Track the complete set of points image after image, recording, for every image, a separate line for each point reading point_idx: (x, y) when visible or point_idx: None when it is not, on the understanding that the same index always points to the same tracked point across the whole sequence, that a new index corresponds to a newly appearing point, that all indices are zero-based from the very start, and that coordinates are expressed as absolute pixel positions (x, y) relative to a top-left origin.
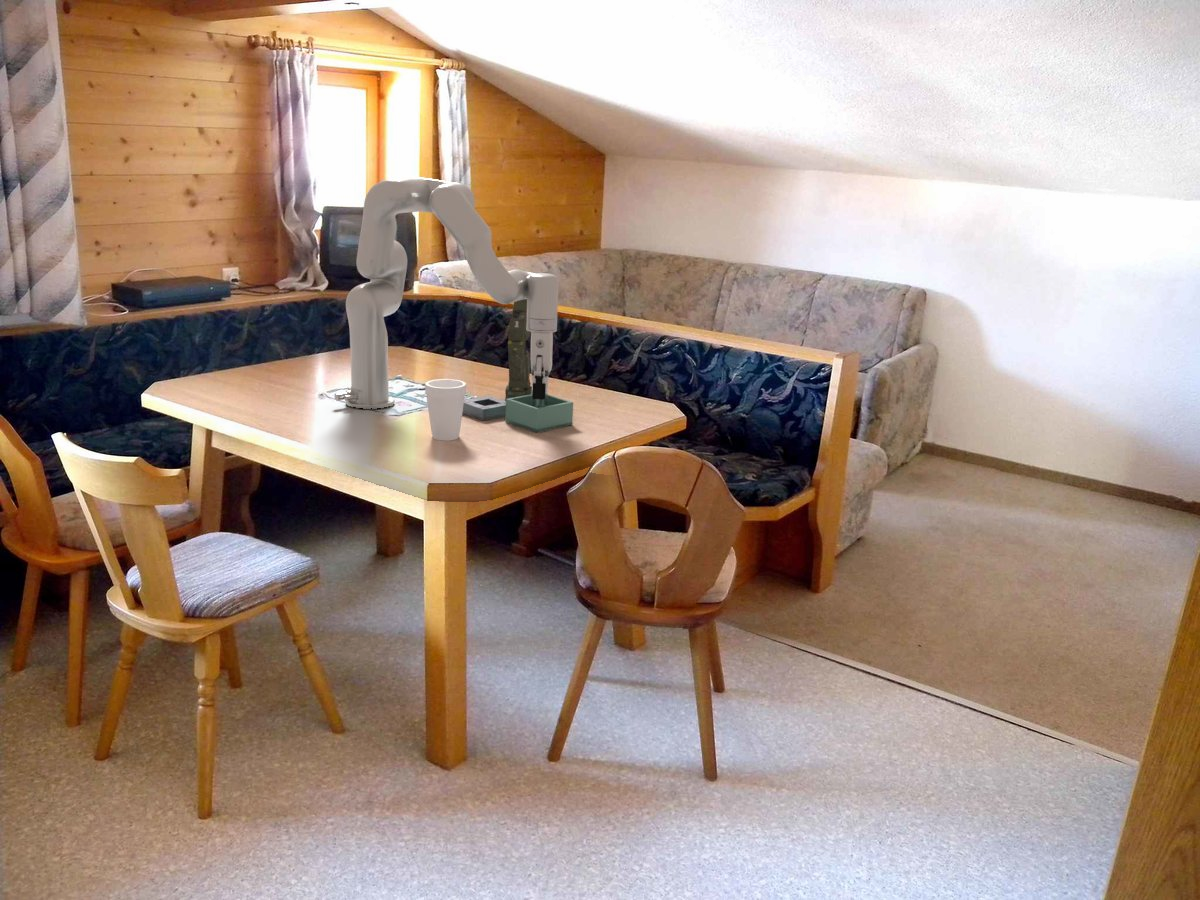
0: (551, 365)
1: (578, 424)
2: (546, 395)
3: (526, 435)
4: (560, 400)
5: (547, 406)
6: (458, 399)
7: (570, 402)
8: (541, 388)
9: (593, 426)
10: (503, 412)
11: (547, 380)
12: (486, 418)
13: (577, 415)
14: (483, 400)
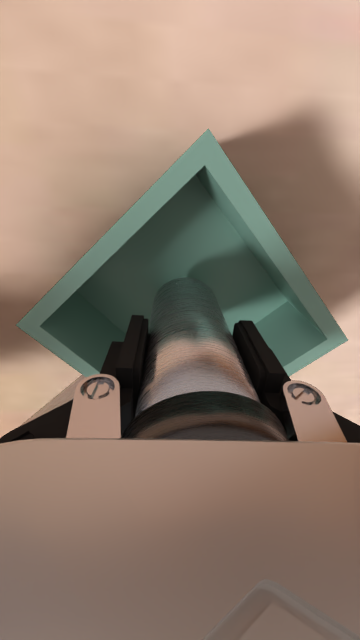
0: (328, 502)
1: (178, 115)
2: (214, 317)
3: None
4: (147, 220)
5: (307, 296)
6: None
7: (218, 152)
8: (284, 376)
9: (209, 17)
10: None
11: (227, 371)
12: None
13: (13, 111)
14: None
